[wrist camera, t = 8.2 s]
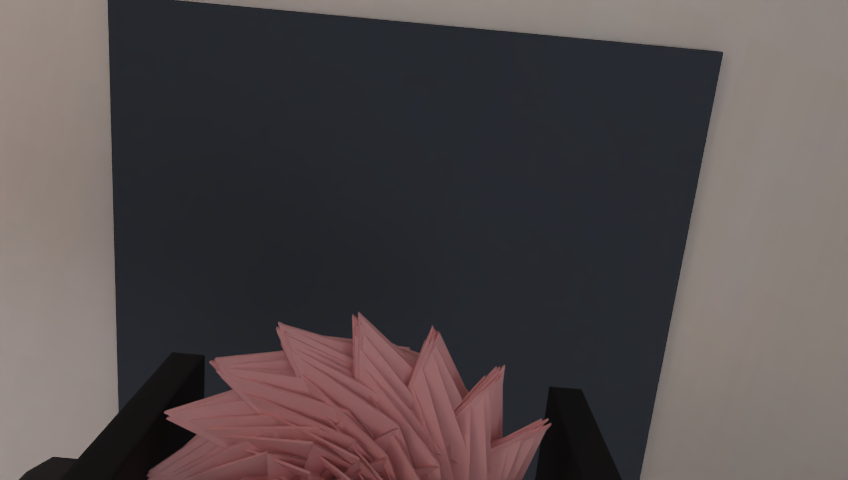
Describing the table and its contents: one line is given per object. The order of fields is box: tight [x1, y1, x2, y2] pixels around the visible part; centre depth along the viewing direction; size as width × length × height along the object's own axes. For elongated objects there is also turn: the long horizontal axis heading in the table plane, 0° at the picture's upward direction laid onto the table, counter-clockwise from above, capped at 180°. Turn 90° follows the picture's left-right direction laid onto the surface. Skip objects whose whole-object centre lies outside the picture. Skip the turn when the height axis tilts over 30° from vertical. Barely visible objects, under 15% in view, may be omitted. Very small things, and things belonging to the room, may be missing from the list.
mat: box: [108, 0, 723, 480], centre depth 25 cm, size 20×20×1 cm
